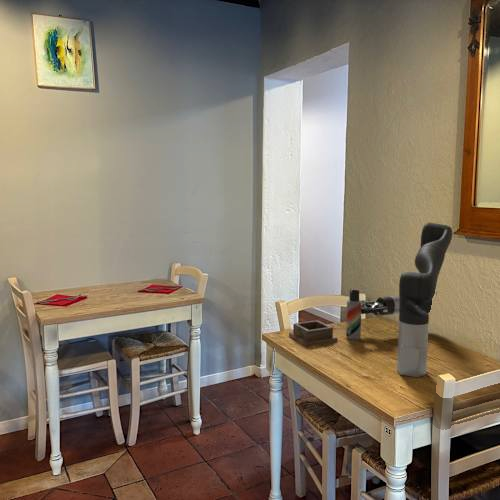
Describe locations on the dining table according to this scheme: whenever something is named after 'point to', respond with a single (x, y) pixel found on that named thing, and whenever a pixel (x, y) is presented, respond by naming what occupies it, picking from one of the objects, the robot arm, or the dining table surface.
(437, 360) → the dining table surface
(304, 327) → the bottle holder
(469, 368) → the dining table surface
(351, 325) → the lotion bottle
